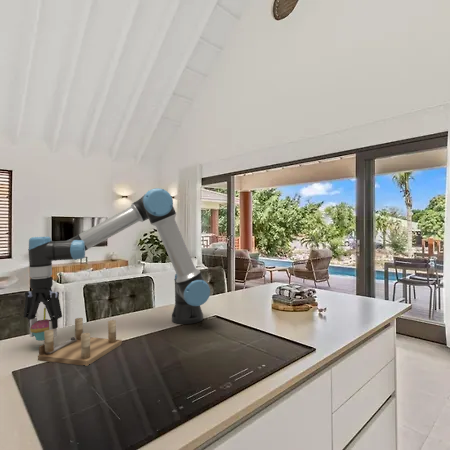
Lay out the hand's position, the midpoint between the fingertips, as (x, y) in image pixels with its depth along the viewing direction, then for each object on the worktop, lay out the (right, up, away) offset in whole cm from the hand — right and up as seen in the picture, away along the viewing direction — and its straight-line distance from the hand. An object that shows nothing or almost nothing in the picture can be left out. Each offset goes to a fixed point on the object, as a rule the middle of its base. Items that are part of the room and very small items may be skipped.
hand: (43, 336), depth 124 cm
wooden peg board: (+17, -4, -5) cm, 18 cm away
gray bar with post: (+9, -2, -5) cm, 11 cm away
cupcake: (0, -1, 0) cm, 1 cm away
